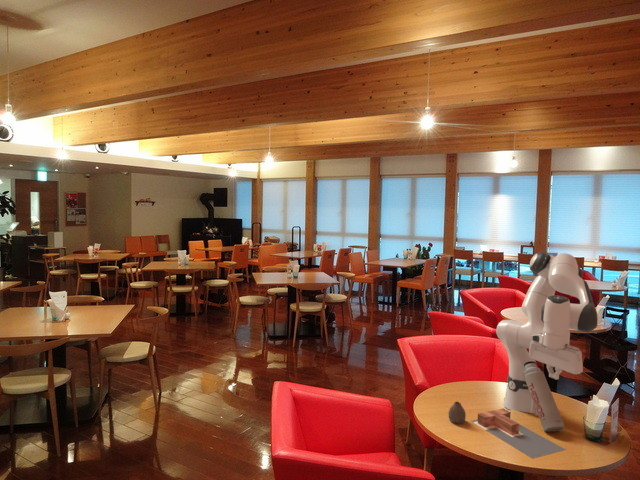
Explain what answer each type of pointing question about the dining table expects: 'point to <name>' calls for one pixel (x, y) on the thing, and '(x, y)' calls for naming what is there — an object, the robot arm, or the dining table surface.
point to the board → (525, 441)
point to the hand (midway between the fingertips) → (553, 378)
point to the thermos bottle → (542, 398)
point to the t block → (499, 421)
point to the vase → (457, 413)
